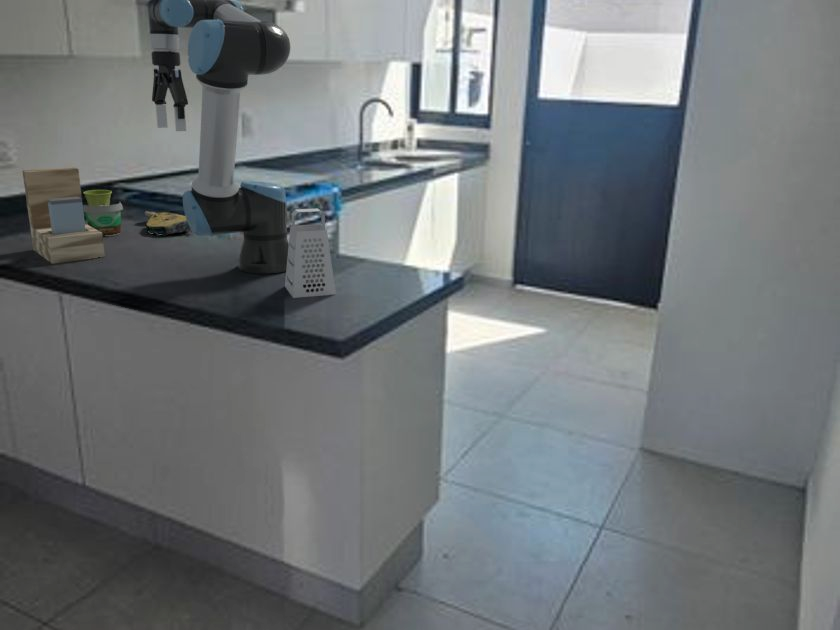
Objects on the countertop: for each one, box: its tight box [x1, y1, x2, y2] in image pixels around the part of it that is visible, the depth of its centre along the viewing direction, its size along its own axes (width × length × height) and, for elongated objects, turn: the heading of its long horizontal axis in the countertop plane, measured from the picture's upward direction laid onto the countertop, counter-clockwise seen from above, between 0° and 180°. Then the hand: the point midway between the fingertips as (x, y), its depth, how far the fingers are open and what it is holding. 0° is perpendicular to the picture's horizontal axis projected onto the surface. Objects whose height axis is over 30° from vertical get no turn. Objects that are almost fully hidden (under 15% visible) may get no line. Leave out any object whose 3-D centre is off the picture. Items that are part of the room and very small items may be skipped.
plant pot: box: [83, 189, 113, 206], centre depth 270 cm, size 9×9×9 cm
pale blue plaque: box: [47, 197, 86, 235], centre depth 213 cm, size 4×8×12 cm, turn 129°
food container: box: [83, 201, 124, 236], centre depth 240 cm, size 12×6×10 cm, turn 131°
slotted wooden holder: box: [21, 166, 106, 265], centre depth 215 cm, size 20×14×23 cm
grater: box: [284, 207, 337, 299], centre depth 185 cm, size 10×10×20 cm
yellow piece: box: [143, 210, 191, 236], centre depth 253 cm, size 14×6×30 cm
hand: (171, 129), depth 217 cm, fingers open, 13 cm apart
